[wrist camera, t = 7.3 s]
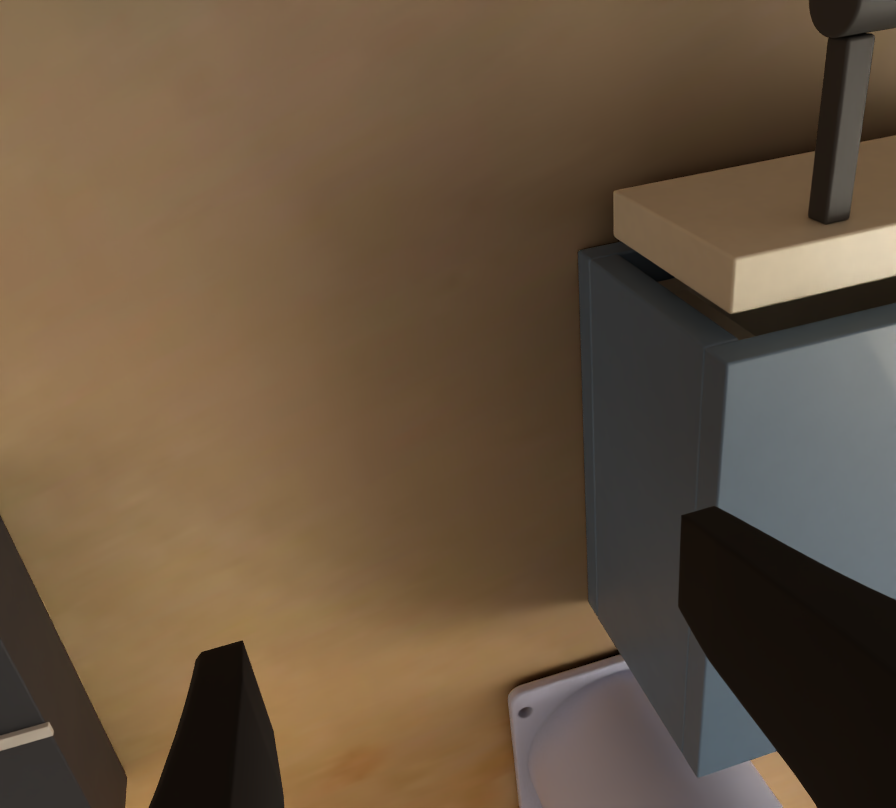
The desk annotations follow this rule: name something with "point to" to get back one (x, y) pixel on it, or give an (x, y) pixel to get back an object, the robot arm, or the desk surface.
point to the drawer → (785, 208)
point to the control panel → (46, 709)
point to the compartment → (722, 469)
